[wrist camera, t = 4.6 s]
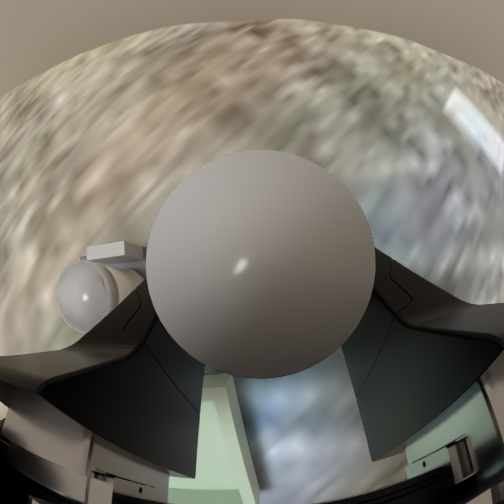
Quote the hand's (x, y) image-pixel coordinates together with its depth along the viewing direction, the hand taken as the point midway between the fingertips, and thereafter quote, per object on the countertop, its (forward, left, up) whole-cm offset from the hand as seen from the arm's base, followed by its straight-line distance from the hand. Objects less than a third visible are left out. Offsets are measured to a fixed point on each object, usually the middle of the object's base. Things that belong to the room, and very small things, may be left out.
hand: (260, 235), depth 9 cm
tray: (-12, +9, -8) cm, 17 cm away
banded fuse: (-1, 0, -7) cm, 7 cm away
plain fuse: (-1, +9, -7) cm, 12 cm away
